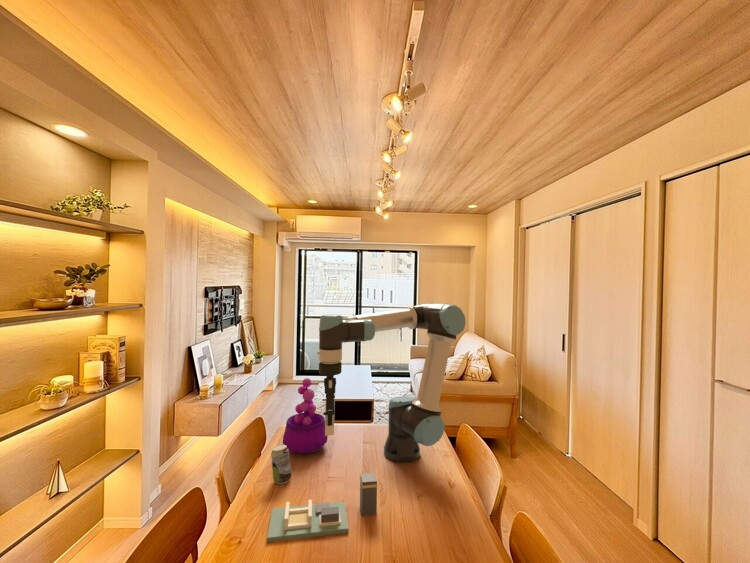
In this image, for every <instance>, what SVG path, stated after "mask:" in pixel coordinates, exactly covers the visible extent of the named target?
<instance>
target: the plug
mask: <svg viewBox="0 0 750 563" xmlns="http://www.w3.org/2000/svg"><path fill="white" fill-rule="evenodd" d="M359 476H360V477H359V481H360V482H359V509H360V514H361V517H364V516H365V517H366V516H374V515H377V508H378V506H377V503H378V501H377V499H378V480H377V477H376V474H375V472H370V473H361V474H360V475H359Z"/></svg>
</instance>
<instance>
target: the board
mask: <svg viewBox="0 0 750 563" xmlns="http://www.w3.org/2000/svg"><path fill="white" fill-rule="evenodd" d="M312 502H313V499H308V503H307V504H305V505H296V506H295V505H294V506H291V501H286V503H285V506H284V507H275V508H271V515H270V518H269V523H268V524H269V526H268V530H267V537H266V543H273V542H281V541H288V540H289V541H290V540H297V539H298V540H299V539H307V538H315V537H323V536H331V535H332V536H333V535H340V534H349V529H350V528H349V523H348V517H347V511H346V502H345V501H335V502H328V501H327V502H321V503H319V502H318V503H312Z"/></svg>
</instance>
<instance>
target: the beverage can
mask: <svg viewBox="0 0 750 563" xmlns="http://www.w3.org/2000/svg"><path fill="white" fill-rule="evenodd" d="M271 450H272V451H271V454H270V456H271V458H270V459H271V468H272V477H273V478H272V479H273V483H275V484H277V485H283V484H284V485H285V484H286V483H288V482H289V481H290V480H291V478H292V468H291V460H290V451H289V449H288V448H287V446H286V445H283V444H279V445H276V446H274V447H273V448H272V449H271Z"/></svg>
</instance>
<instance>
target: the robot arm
mask: <svg viewBox="0 0 750 563" xmlns="http://www.w3.org/2000/svg"><path fill="white" fill-rule="evenodd" d="M465 327H466V316H465V313H463V310H462V309H461V307H459V306H457V305H455V304H451V303H435V302H427V303H423V304H422V303H421V304H418V305H417V304H416V305H411V306H407V307H406V308H405V309H399V310H391V311H380V312H373V313H366V314H365V313H364V314H357V315H348V316H346V315H345V316H343V315H341V314H322V315H321V316H320V319H319V327H318V332H319V335H318V337H319V341H318V342H319V345H318V346H319V350H318V351H317V352H316V354H317V355H318V360H319V362H318V373H319V374H320V375H321V376H326V377H324V378H323V386H324V394H325V401H324V402H325V407H324V412H323V416H324V418H325V436H327V437H328V436H334V435H335V398H336V385H337V378H336V377H334V376H338V375H340V374H341V373H342V366H343V364H342V360H343V343H344V344H345V343H353V342H368V341H372V340H374V338H375V336H376V333H377V332H378V333H379V332H384V331H390V330H398V329H405V328H408V329H409V330H410V329H411V330H414V329H421V330H427V331H426V335H427V336H428V338H429V341H428V344H427V349H426V353H425V354H426V355H425V357H424V358H425V359H424V362H423V367H422V368H423V369H422V373H421V377H420V378H421V379H420V383H419V388H418V391H417V396H416V397H413V396H406V395H404V396H403V395H401V396H395V397H392V398H391V399H390V400H389V401H388V432H387V437H386V438H385V439H386V440H385V443H384V444H383V445H384V446H383V454H384V456H385V457H386V458H387V459H389V460H391V461H393V462H397V463H411V462H414V461H416V460H418V459H419V458H420V456H421V448H420V445H422V446H425V447H432V446H434V445H436V444H437V443H438V442H439V441H440V440H441V439H442V438H443V435H444V433H445V429H446V428H445V426H446V425H445V423H444V420H443V419H442V417H441V414H442V408H441V407H440V399H441V395H442V389H443V384H444V380H445V375H446V369H447V366H448V361H449V360H448V359H449V356H450V349H451V346H452V343H454V342H456V341H457V336H458V335H460V334H461V333H462V332H463V331H464V330H465Z"/></svg>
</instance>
